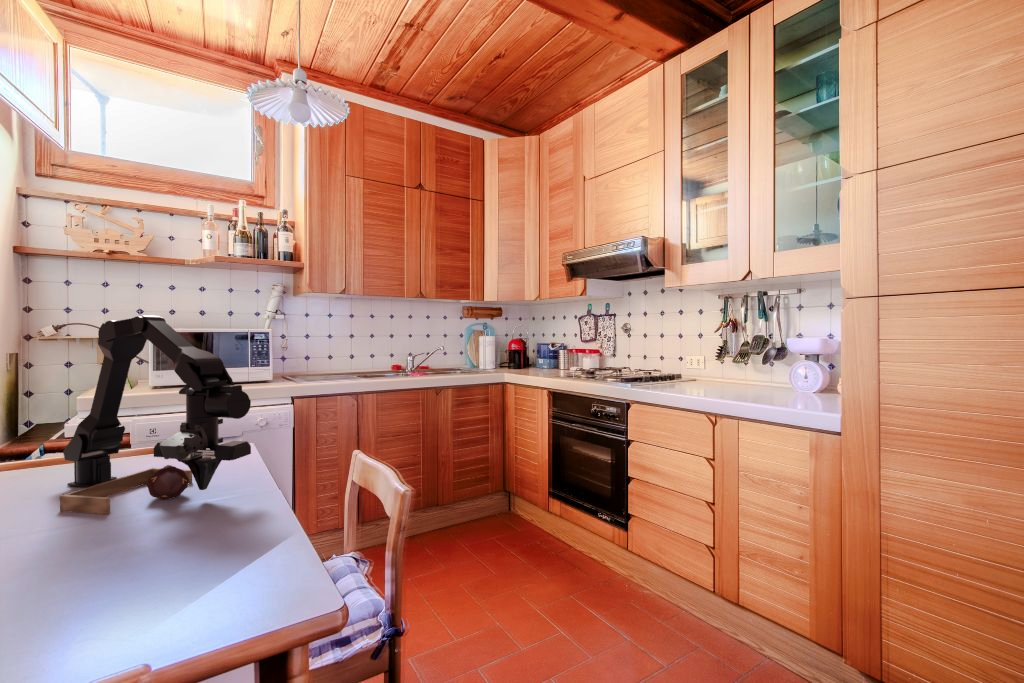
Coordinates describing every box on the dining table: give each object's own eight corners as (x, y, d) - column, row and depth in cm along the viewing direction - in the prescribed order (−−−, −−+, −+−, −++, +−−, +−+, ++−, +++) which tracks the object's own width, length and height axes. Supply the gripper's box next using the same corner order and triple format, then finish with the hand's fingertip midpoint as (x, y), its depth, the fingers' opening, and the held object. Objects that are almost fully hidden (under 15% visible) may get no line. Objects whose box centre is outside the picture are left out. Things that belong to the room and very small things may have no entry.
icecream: (197, 472, 100) (188, 463, 112) (154, 469, 96) (150, 460, 107) (187, 506, 99) (180, 494, 110) (143, 505, 94) (140, 492, 106)
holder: (60, 510, 95) (59, 495, 95) (152, 480, 115) (152, 467, 115) (106, 514, 93) (106, 499, 93) (192, 482, 114) (192, 469, 114)
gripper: (128, 421, 95) (129, 500, 95) (212, 424, 92) (212, 505, 92) (176, 412, 106) (176, 482, 106) (252, 414, 103) (252, 487, 103)
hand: (203, 489), depth 102 cm, fingers closed
